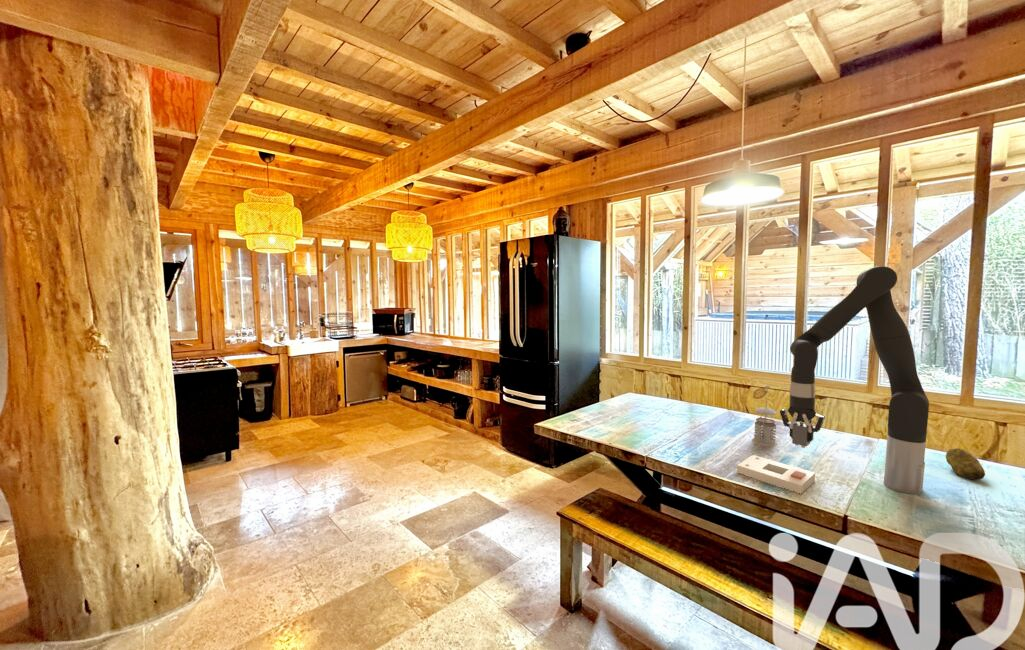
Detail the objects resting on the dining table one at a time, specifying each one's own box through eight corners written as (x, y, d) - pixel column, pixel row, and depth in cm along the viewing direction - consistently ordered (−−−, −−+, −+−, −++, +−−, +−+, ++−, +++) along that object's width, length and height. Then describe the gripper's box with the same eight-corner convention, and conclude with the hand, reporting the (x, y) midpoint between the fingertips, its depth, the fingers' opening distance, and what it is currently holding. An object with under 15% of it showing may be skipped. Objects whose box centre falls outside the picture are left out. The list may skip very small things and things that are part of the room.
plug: (810, 446, 151) (810, 422, 150) (806, 449, 148) (806, 425, 147) (796, 442, 154) (796, 420, 153) (792, 445, 151) (792, 422, 151)
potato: (951, 477, 144) (953, 455, 144) (942, 464, 155) (944, 444, 154) (986, 484, 140) (988, 461, 139) (974, 470, 150) (977, 449, 149)
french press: (780, 442, 178) (783, 385, 176) (773, 449, 170) (776, 390, 168) (755, 436, 185) (757, 382, 183) (747, 443, 177) (749, 386, 175)
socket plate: (814, 481, 143) (815, 471, 142) (801, 494, 134) (801, 483, 134) (752, 462, 158) (753, 453, 158) (736, 472, 149) (737, 463, 149)
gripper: (829, 395, 146) (827, 442, 148) (783, 389, 157) (782, 432, 159) (823, 399, 142) (821, 447, 143) (776, 392, 153) (775, 437, 154)
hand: (801, 439), depth 151 cm, fingers closed on plug, 4 cm apart
